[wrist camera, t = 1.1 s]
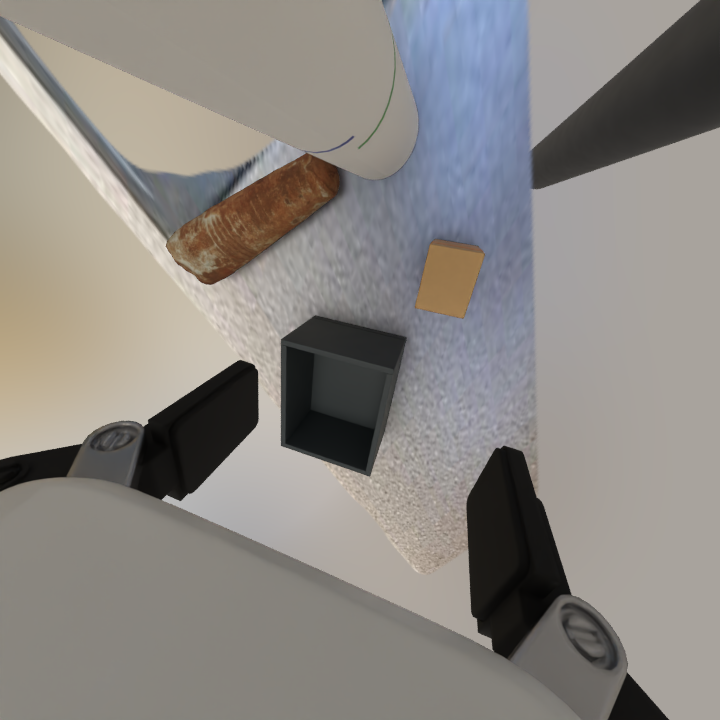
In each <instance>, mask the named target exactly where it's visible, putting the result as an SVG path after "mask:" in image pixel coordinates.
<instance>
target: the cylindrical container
mask: <svg viewBox="0 0 720 720" xmlns="http://www.w3.org/2000/svg"><path fill="white" fill-rule="evenodd" d="M0 16H1V17H4V18H6V19H8V20H10V21H13V22H15V23H17V24H19V25H22V26H24V27H26V28H28V29H31V30H33V31H35V32H37V33H39V34H42V35H44V36H46V37H49V38H51V39H53V40H55V41H57V42H60V43H62V44H64V45H66V46H68V47H71V48H73V49H75V50H78V51H80V52H82V53H84V54H86V55H89V56H91V57H93V58H95V59H98V60H100V61H102V62H104V63H106V64H109V65H111V66H113V67H115V68H118V69H120V70H122V71H124V72H127V73H129V74H131V75H133V76H136V77H138V78H140V79H142V80H145V81H147V82H149V83H151V84H153V85H156V86H158V87H160V88H162V89H165V90H167V91H169V92H171V93H173V94H176V95H178V96H180V97H182V98H185V99H187V100H189V101H191V102H194V103H196V104H198V105H200V106H203V107H205V108H207V109H209V110H211V111H214V112H216V113H218V114H221V115H223V116H225V117H227V118H230V119H232V120H234V121H236V122H239V123H241V124H243V125H245V126H248V127H250V128H252V129H254V130H257V131H259V132H261V133H264V134H266V135H268V136H270V137H273V138H275V139H277V140H279V141H282V142H284V143H286V144H288V145H291V146H293V147H295V148H297V149H300V150H302V151H304V152H306V153H308V154H311V155H313V156H315V157H317V158H320V159H322V160H324V161H326V162H328V163H331V164H333V165H335V166H337V167H340V168H342V169H344V170H346V171H349V172H351V173H353V174H356V175H358V176H360V177H363V178H365V179H369V180H380V179H384V178H387V177H389V176H391V175H393V174H394V173H396V172H397V171H398V170H399V169H400V168H401V167H402V166H403V165H404V164H405V163H406V161H407V160H408V158H409V157H410V155H411V153H412V151H413V148H414V146H415V143H416V139H417V134H418V124H419V119H418V110H417V107H416V103H415V100H414V97H413V94H412V91H411V88H410V85H409V82H408V79H407V76H406V73H405V70H404V67H403V64H402V61H401V58H400V55H399V51H398V48H397V45H396V42H395V39H394V36H393V33H392V30H391V27H390V24H389V22H388V18H387V15H386V12H385V9H384V6H383V3H382V0H0Z"/></svg>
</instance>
